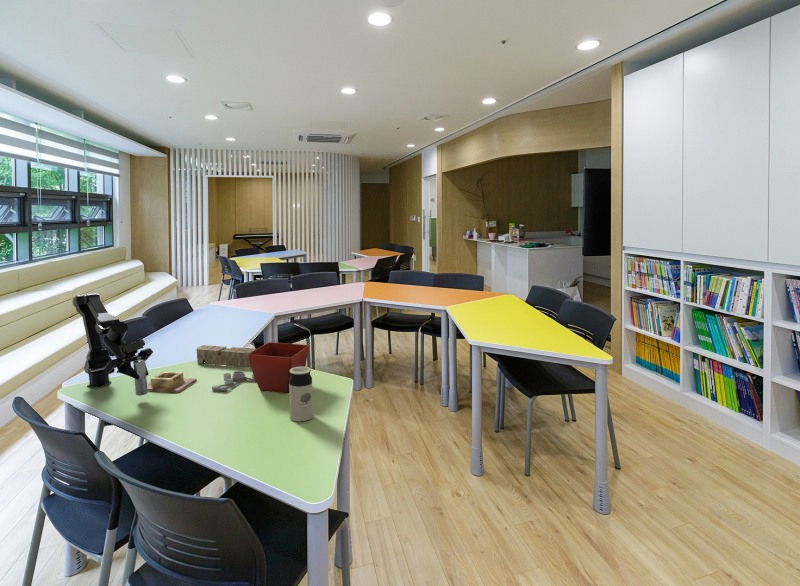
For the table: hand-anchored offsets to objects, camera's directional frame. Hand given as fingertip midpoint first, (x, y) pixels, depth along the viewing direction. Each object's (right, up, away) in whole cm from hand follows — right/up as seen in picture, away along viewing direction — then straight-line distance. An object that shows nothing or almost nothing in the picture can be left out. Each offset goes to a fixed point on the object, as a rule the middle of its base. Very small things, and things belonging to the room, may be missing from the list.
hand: (143, 376), depth 181 cm
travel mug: (+63, -13, -11) cm, 66 cm away
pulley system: (+30, -7, +24) cm, 39 cm away
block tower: (+13, -3, +50) cm, 51 cm away
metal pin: (-1, -7, +1) cm, 7 cm away
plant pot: (+48, -8, +18) cm, 52 cm away
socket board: (0, -7, +19) cm, 20 cm away
